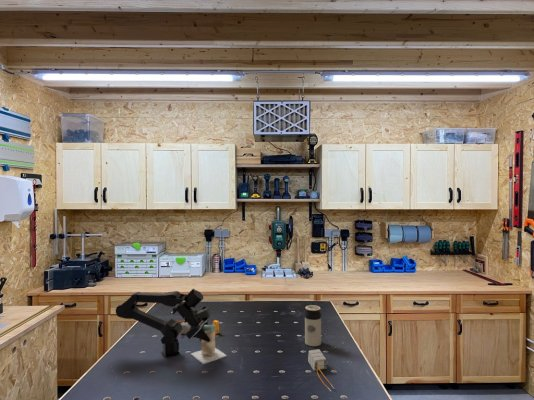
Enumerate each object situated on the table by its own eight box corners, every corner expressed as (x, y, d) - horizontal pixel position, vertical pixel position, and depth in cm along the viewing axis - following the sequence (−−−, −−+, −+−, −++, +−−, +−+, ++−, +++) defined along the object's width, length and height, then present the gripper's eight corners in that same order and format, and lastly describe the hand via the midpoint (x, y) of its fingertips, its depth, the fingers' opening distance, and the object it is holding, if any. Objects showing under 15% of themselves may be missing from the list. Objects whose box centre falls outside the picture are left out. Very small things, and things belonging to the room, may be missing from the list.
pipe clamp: (205, 341, 176) (204, 328, 176) (199, 339, 178) (199, 326, 178) (221, 333, 185) (221, 321, 185) (215, 331, 188) (215, 320, 188)
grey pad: (203, 364, 151) (203, 363, 151) (190, 354, 160) (190, 353, 160) (226, 356, 158) (226, 355, 158) (213, 347, 168) (213, 346, 168)
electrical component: (343, 397, 131) (345, 385, 130) (329, 399, 130) (330, 388, 129) (318, 357, 154) (319, 347, 153) (305, 359, 152) (306, 349, 151)
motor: (196, 322, 203) (194, 313, 203) (186, 337, 180) (184, 327, 180) (157, 328, 203) (155, 320, 203) (142, 344, 181) (141, 335, 181)
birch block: (201, 355, 157) (201, 328, 157) (204, 350, 162) (204, 324, 162) (212, 355, 157) (212, 329, 157) (215, 350, 162) (215, 325, 162)
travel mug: (309, 338, 177) (309, 304, 177) (323, 342, 173) (323, 306, 173) (302, 344, 171) (301, 308, 171) (316, 348, 166) (316, 311, 166)
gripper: (193, 308, 150) (218, 335, 149) (206, 296, 169) (228, 320, 168) (176, 325, 151) (200, 352, 150) (190, 311, 170) (212, 335, 169)
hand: (211, 338), depth 159 cm, fingers closed on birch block, 5 cm apart
